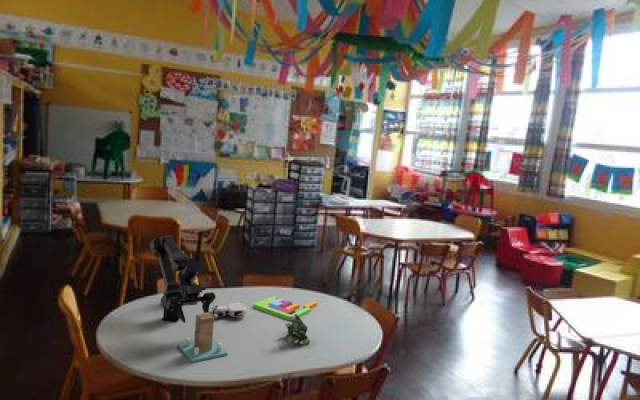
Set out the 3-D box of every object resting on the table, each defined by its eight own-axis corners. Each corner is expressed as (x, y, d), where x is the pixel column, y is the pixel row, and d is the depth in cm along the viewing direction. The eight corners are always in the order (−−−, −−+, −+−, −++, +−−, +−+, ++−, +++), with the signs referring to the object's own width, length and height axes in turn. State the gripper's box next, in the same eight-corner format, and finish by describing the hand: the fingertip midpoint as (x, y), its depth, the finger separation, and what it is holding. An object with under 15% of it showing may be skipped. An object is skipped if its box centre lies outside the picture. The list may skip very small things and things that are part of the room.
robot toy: (213, 323, 220) (248, 319, 225) (213, 313, 220) (248, 310, 224) (210, 312, 232) (243, 309, 236) (210, 303, 231) (243, 300, 236)
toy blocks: (291, 322, 229) (320, 308, 250) (292, 317, 228) (321, 303, 249) (252, 308, 240) (283, 295, 262) (253, 303, 240) (284, 291, 261)
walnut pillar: (193, 346, 192) (195, 314, 190) (206, 344, 195) (208, 312, 193) (199, 352, 188) (201, 319, 186) (211, 349, 191) (213, 317, 189)
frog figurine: (271, 331, 216) (273, 305, 214) (311, 331, 221) (314, 305, 219) (278, 350, 199) (281, 322, 197) (322, 349, 204) (325, 322, 202)
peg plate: (178, 346, 193) (178, 336, 193) (212, 340, 202) (212, 330, 201) (191, 362, 182) (192, 352, 182) (227, 355, 190) (228, 345, 190)
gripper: (170, 277, 193) (178, 315, 186) (215, 273, 204) (225, 308, 197) (162, 290, 200) (170, 327, 193) (206, 285, 211) (215, 320, 204)
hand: (196, 320), depth 197 cm, fingers open, 9 cm apart
